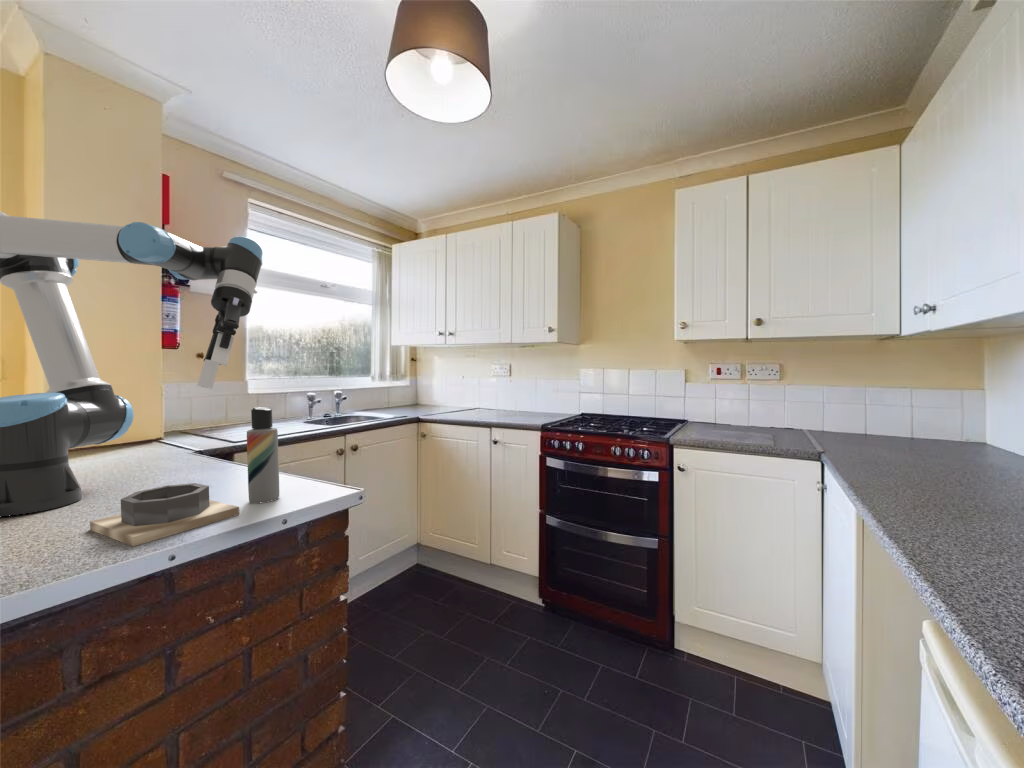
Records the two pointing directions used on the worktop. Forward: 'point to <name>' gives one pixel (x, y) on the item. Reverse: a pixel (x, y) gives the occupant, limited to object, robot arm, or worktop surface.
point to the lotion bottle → (262, 457)
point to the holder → (162, 513)
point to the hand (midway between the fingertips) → (211, 375)
